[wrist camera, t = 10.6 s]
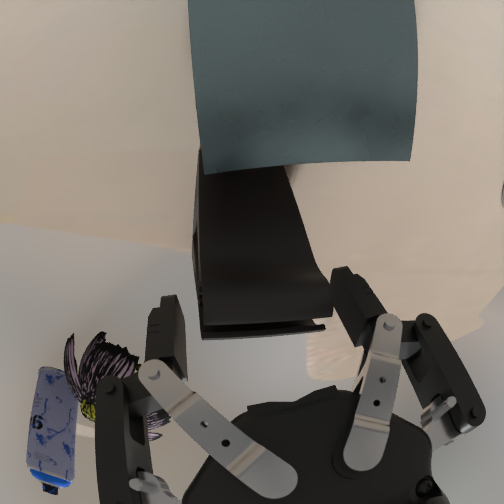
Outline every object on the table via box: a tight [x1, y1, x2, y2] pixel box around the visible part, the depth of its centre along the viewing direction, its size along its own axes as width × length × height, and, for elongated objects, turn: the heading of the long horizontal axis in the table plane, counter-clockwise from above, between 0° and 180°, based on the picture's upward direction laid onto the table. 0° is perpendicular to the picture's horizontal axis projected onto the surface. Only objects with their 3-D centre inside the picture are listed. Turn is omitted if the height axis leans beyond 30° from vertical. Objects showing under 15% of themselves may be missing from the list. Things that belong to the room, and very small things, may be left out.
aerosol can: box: [26, 367, 79, 495], centre depth 23 cm, size 8×8×20 cm
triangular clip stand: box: [192, 151, 333, 340], centre depth 17 cm, size 9×6×12 cm, turn 171°
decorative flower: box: [64, 332, 171, 441], centre depth 26 cm, size 15×12×15 cm
